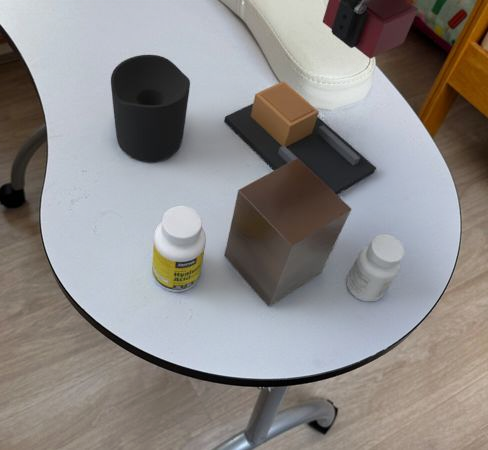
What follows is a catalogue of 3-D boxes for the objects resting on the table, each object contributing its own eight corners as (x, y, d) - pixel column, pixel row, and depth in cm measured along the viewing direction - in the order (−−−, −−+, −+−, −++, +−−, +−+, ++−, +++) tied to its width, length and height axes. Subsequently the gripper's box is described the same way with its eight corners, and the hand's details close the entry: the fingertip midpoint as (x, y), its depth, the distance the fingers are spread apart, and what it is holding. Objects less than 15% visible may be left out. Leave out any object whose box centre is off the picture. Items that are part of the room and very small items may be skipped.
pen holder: (188, 118, 80) (193, 59, 72) (181, 169, 75) (185, 111, 67) (120, 110, 80) (118, 50, 72) (108, 161, 75) (104, 102, 67)
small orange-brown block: (311, 133, 79) (319, 110, 75) (284, 148, 77) (290, 125, 74) (278, 103, 82) (283, 79, 79) (250, 116, 80) (255, 92, 77)
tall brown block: (321, 272, 67) (352, 208, 57) (268, 307, 64) (291, 246, 54) (276, 225, 71) (297, 157, 61) (223, 255, 67) (237, 189, 58)
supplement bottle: (172, 302, 63) (176, 253, 56) (142, 268, 66) (142, 215, 58) (210, 276, 66) (219, 225, 58) (180, 244, 68) (185, 191, 60)
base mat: (374, 173, 77) (379, 161, 75) (313, 209, 72) (317, 198, 71) (283, 93, 85) (287, 81, 83) (224, 121, 80) (226, 109, 79)
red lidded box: (403, 43, 60) (419, 7, 57) (370, 59, 58) (384, 23, 55) (355, 7, 63) (367, -29, 60) (321, 22, 61) (332, -15, 58)
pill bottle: (384, 273, 68) (408, 234, 61) (384, 306, 65) (410, 269, 59) (346, 265, 68) (366, 226, 62) (344, 298, 65) (366, 260, 59)
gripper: (397, -124, 41) (329, 80, 56) (538, -169, 47) (444, 24, 62) (323, -166, 44) (277, 37, 59) (465, -202, 51) (392, -11, 65)
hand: (363, 29), depth 60 cm, fingers closed on red lidded box, 5 cm apart
